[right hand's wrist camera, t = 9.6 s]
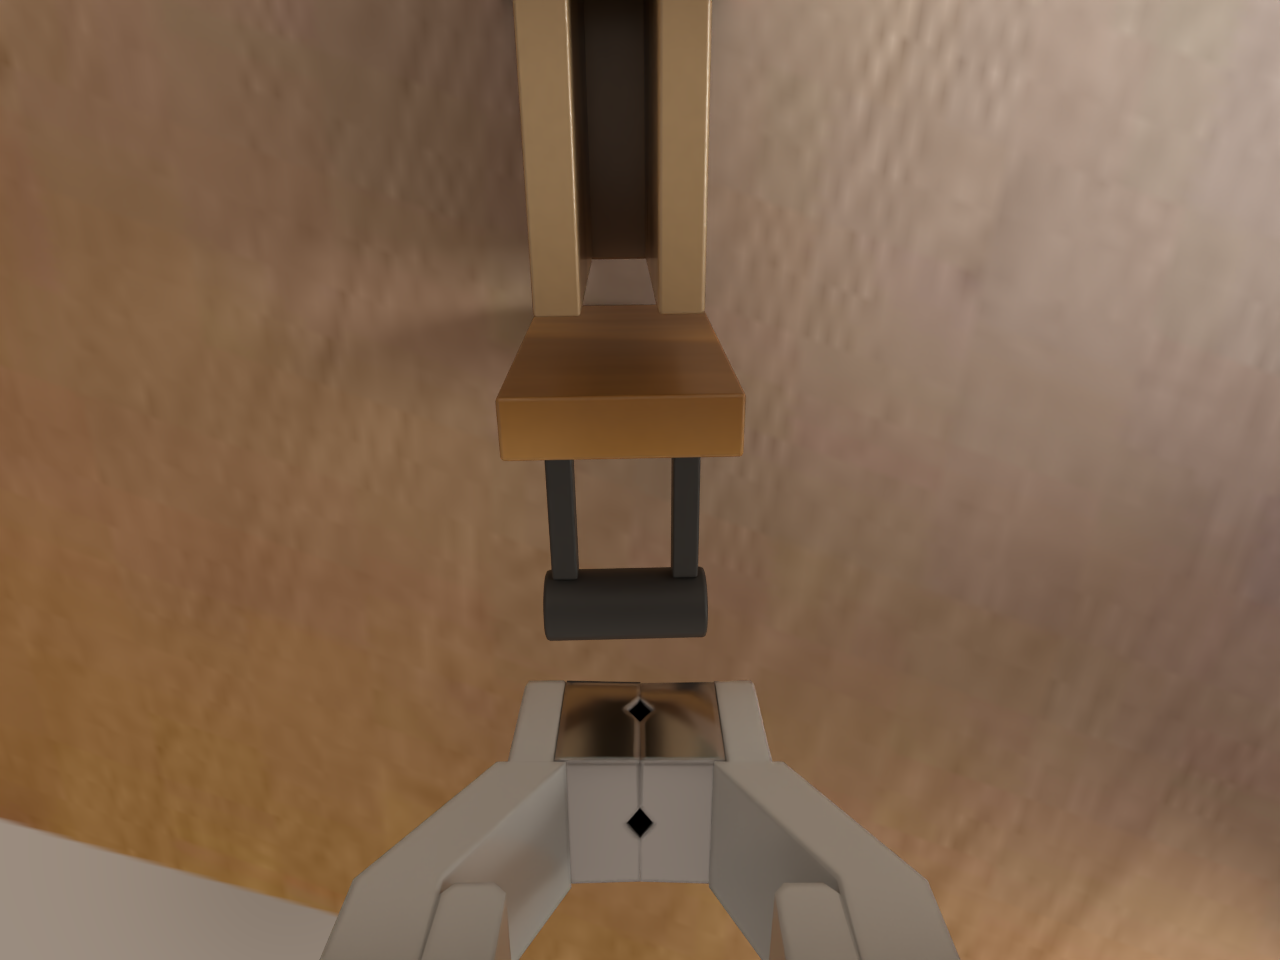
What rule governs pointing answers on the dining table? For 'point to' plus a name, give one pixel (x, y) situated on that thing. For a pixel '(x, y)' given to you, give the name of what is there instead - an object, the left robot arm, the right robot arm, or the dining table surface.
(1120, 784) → the dining table surface
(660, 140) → the drawer
